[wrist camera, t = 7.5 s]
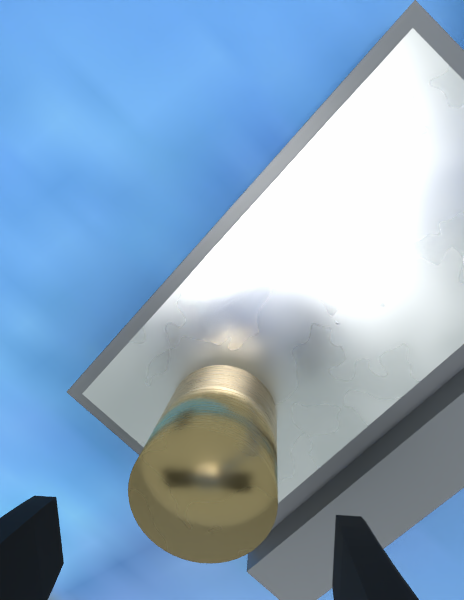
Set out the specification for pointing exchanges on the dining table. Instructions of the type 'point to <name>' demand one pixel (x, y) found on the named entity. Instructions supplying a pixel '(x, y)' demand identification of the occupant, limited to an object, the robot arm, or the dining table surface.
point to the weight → (210, 468)
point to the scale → (330, 310)
